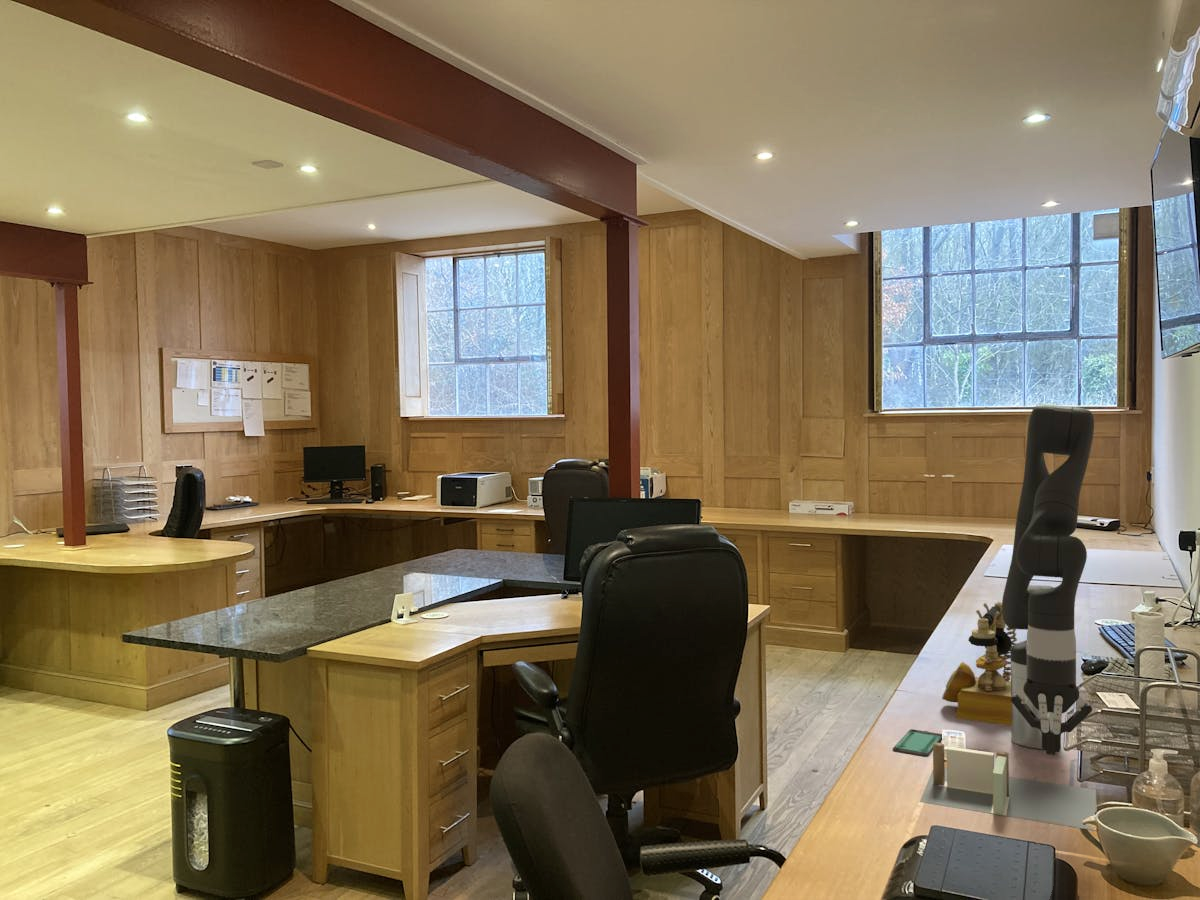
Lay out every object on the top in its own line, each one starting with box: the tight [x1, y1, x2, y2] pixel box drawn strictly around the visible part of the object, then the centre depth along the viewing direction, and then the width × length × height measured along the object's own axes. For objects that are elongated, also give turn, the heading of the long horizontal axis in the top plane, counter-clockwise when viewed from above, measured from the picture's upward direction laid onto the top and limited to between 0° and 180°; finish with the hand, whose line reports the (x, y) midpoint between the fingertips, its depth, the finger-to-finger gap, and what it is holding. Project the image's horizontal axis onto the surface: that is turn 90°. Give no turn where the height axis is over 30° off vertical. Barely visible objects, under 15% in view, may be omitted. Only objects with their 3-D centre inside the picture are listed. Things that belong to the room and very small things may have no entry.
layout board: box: [919, 766, 1098, 832], centre depth 165 cm, size 19×28×1 cm
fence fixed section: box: [932, 742, 1010, 795], centre depth 169 cm, size 2×13×7 cm, turn 62°
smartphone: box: [892, 729, 943, 757], centre depth 194 cm, size 7×1×15 cm
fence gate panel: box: [993, 755, 1007, 814], centre depth 161 cm, size 9×2×7 cm, turn 152°
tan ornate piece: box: [941, 601, 1018, 727], centre depth 218 cm, size 35×18×25 cm, turn 147°
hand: (1051, 753), depth 155 cm, fingers closed
